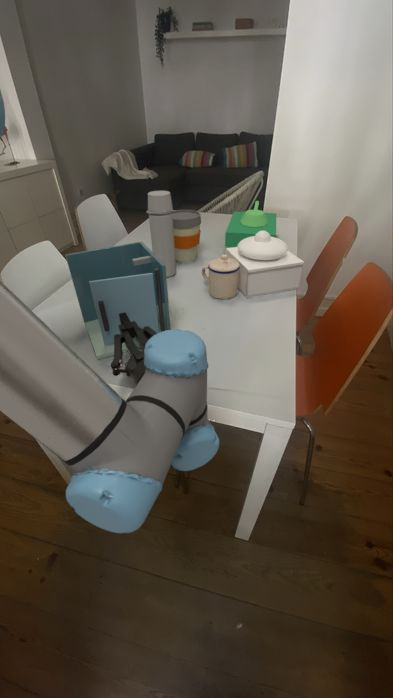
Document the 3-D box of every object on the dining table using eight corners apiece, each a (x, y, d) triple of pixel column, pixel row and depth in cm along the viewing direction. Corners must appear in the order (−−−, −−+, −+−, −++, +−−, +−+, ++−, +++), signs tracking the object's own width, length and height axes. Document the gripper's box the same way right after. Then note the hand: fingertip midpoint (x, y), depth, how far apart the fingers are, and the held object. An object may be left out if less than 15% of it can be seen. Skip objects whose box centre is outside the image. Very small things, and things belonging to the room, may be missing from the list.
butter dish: (271, 266, 110) (278, 218, 100) (299, 289, 96) (309, 237, 87) (224, 273, 106) (226, 224, 96) (245, 298, 93) (250, 244, 83)
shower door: (104, 348, 73) (89, 284, 63) (104, 343, 74) (88, 281, 64) (160, 338, 76) (153, 276, 66) (158, 334, 77) (152, 272, 67)
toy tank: (277, 199, 135) (277, 224, 108) (273, 228, 143) (272, 258, 116) (236, 197, 138) (226, 221, 111) (234, 226, 146) (224, 255, 119)
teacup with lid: (243, 290, 97) (246, 253, 89) (228, 303, 91) (230, 264, 84) (210, 281, 102) (210, 245, 95) (194, 292, 96) (193, 255, 89)
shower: (97, 359, 72) (76, 283, 60) (84, 324, 83) (65, 254, 71) (171, 338, 78) (165, 264, 66) (150, 308, 89) (141, 241, 77)
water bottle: (181, 275, 106) (176, 193, 90) (160, 281, 103) (152, 197, 87) (168, 265, 112) (162, 188, 97) (147, 271, 109) (138, 191, 93)
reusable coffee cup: (201, 263, 113) (201, 219, 104) (166, 263, 114) (163, 220, 104) (201, 250, 123) (201, 209, 114) (169, 250, 124) (166, 209, 114)
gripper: (125, 412, 54) (97, 339, 71) (194, 388, 58) (152, 324, 75) (117, 380, 49) (89, 310, 66) (193, 357, 53) (148, 296, 70)
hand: (123, 318), depth 71 cm, fingers closed
